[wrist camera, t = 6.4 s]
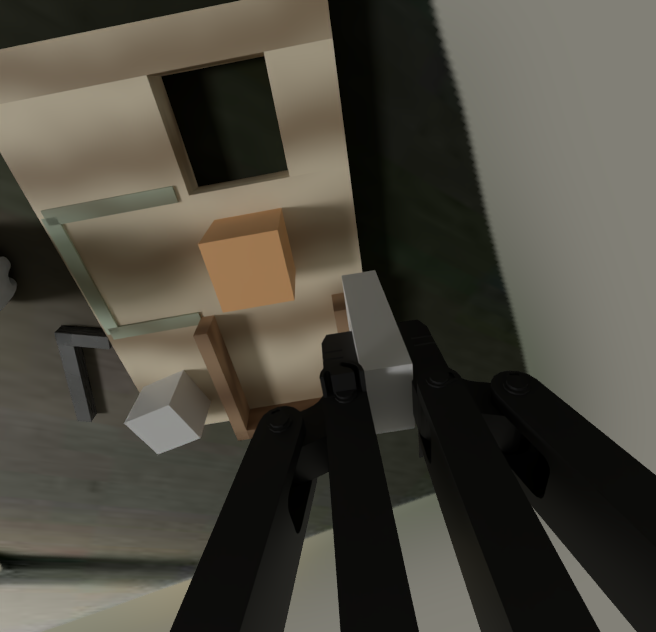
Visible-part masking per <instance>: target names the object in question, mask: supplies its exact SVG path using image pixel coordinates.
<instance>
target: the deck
mask: <svg viewBox="0 0 656 632" xmlns="http://www.w3.org/2000/svg"><path fill="white" fill-rule="evenodd" d="M262 56H265V61H266V66H267V71H268V75H269V80H270V85H271V90H272V94H273V99H274V104H275V109H276V114H277V118H278V123H279V128H280V133H281V137H282V142H283V147H284V152H285V157H286V161H287V166H288V170H286V171H281V172H275V173H270V174H265V175H259V176H254V177H249V178H243V179H238V180H232V181H227V182H222V183H216V184H211V185H206V186H200V187H198V184H197V181H196V178H195V176H194V173H193V170H192V167H191V164H190V161H189V158H188V155H187V152H186V149H185V146H184V143H183V140H182V137H181V134H180V131H179V128H178V125H177V122H176V119H175V116H174V113H173V110H172V107H171V104H170V101H169V98H168V95H167V92H166V89H165V86H164V84H163V81H162V78H161V76H166V75H171V74H176V73H181V72H186V71H191V70H196V69H201V68H207V67H212V66H217V65H222V64H227V63H232V62H237V61H242V60H247V59H252V58H257V57H262ZM0 153H1V154H2V156H3V158H4V160H5V161H6V163H7V165H8V167H9V168H10V170H11V172H12V173H13V175H14V177H15V179H16V180H17V182H18V184H19V185H20V187H21V189H22V191H23V192H24V194H25V196H26V198H27V199H28V201H29V203H30V204H31V206H32V208H33V210H34V211H35V213H36V215H37V217H38V218H39V220H40V222H41V223H42V225H43V227H44V229H45V230H46V232H47V234H48V235H49V237H50V239H51V241H52V242H53V244H54V246H55V248H56V249H57V251H58V253H59V254H60V256H61V258H62V260H63V261H64V263H65V265H66V266H67V268H68V270H69V272H70V273H71V275H72V277H73V279H74V280H75V282H76V284H77V285H78V287H79V289H80V291H81V292H82V294H83V296H84V297H85V299H86V301H87V303H88V304H89V306H90V308H91V310H92V311H93V313H94V315H95V316H96V318H97V320H98V322H99V323H100V325H101V327H102V329H103V330H104V332H105V334H106V335H107V337H108V339H109V341H110V342H111V344H112V346H113V347H114V349H115V351H116V353H117V354H118V356H119V358H120V360H121V361H122V363H123V365H124V366H125V368H126V370H127V372H128V373H129V375H130V377H131V378H132V380H133V382H134V384H135V385H136V387H137V389H138V391H139V392H141V390H142V389H143V387H144V386H147V385H149V384H151V383H154V382H156V381H159V380H161V379H163V378H166V377H168V376H170V375H173V374H175V373H177V372H180V371H182V370H184V371H185V372H186V373H187V375H188V376H189V377H190V378H191V379H192V380H193V381H194V383H195V384H196V385H197V386H198V387H199V388H200V390H201V391H202V392H203V393H204V394H205V395H206V396H207V398H208V399H209V400H210V401H211V404H210V407H209V410H208V414H207V417H206V421H205V424H204V425H206V424H212V423H218V422H224V421H230V420H229V418H228V416H227V413H226V411H225V409H224V406H223V404H222V402H221V400H220V397H219V395H218V393H217V390H216V388H215V386H214V383H213V381H212V379H211V376H210V374H209V372H208V369H207V367H206V365H205V363H204V360H203V358H202V356H201V353H200V351H199V349H198V346H197V344H196V342H195V339H194V337H193V335H194V333H195V330H196V328H197V326H198V324H199V321H200V319H201V317H206V316H212V315H214V316H215V319H216V321H217V324H218V327H219V329H220V332H221V334H222V337H223V340H224V342H225V345H226V347H227V350H228V353H229V355H230V358H231V361H232V363H233V366H234V368H235V371H236V374H237V376H238V379H239V381H240V384H241V387H242V389H243V392H244V395H245V397H246V400H247V402H248V405H249V408H250V409H253V408H259V407H265V406H271V405H277V404H283V403H289V402H295V401H301V400H307V399H313V398H320V397H322V396H323V392H322V388H321V383H320V378H319V377H320V372H321V371H322V369H323V358H322V344H321V343H322V342H323V340H324V338H325V336H326V335H328V334H335V333H338V332H337V326H336V321H335V315H334V309H333V302H332V295H333V294H338V293H344V290H343V283H342V275H348V274H355V273H361V272H362V265H361V258H360V250H359V242H358V234H357V226H356V218H355V211H354V203H353V195H352V187H351V179H350V171H349V164H348V156H347V148H346V140H345V132H344V124H343V117H342V109H341V101H340V93H339V85H338V77H337V70H336V62H335V54H334V46H333V38H332V31H331V23H330V15H329V7H328V0H241V1H236V2H231V3H226V4H221V5H216V6H212V7H207V8H202V9H197V10H192V11H187V12H182V13H177V14H172V15H167V16H162V17H157V18H153V19H148V20H143V21H138V22H133V23H128V24H123V25H118V26H113V27H108V28H103V29H99V30H94V31H89V32H84V33H79V34H74V35H69V36H64V37H59V38H54V39H49V40H45V41H40V42H35V43H30V44H25V45H20V46H15V47H10V48H5V49H0ZM277 208H282V212H283V217H284V221H285V225H286V230H287V234H288V238H289V243H290V247H291V252H292V256H293V260H294V265H295V269H296V276H295V300H294V301H288V302H282V303H276V304H271V305H265V306H259V307H253V308H247V309H242V310H236V311H230V312H224V313H223V311H222V309H221V306H220V303H219V301H218V298H217V295H216V292H215V290H214V287H213V284H212V281H211V279H210V276H209V273H208V270H207V268H206V265H205V262H204V260H203V257H202V254H201V251H200V249H199V246H198V243H199V242H200V240H201V239H202V237H203V236H204V234H205V233H206V231H207V230H208V229H209V227H210V226H211V224H212V223H213V221H214V220H217V219H222V218H228V217H233V216H239V215H244V214H250V213H255V212H261V211H266V210H272V209H277Z"/></svg>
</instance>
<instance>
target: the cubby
mask: <svg viewBox="0 0 656 632" xmlns="http://www.w3.org/2000/svg"><path fill="white" fill-rule="evenodd" d="M332 302H333V309H334V315H335V321H336V326H337V332H338V333H341V332H347V331H349V325H348V318H347V311H346V304H345V297H344V293H338V294H333V295H332ZM193 337H194V339H195V342H196V344H197V346H198V349H199V351H200V353H201V356H202V358H203V360H204V363H205V365H206V367H207V369H208V372H209V374H210V376H211V379H212V381H213V383H214V386H215V388H216V390H217V393H218V395H219V397H220V400H221V402H222V404H223V406H224V409H225V411H226V413H227V416H228V418H229V420H230V423H231V425H232V427H233V430H234V432H235V434H236V437H237V439H238V440H245V439H251V438H252V437H253V434H254V432H255V430H256V427H257V425H258V423H259V421H260V419H261V418H262V416H263V415H264V414H266V413H267V412H268V411H269V410H271V409H274V408H276V407H280V406H290V407H294V408H296V409H297V410H299V411H302V410H305V409H307V408H309V407H311V406H313V405H314V404H316V403H317V402H318V401H319V400H320V399H321V398H322V397H320V398H313V399H307V400H301V401H295V402H289V403H283V404H277V405H271V406H265V407H259V408H253V409H250V408H249V405H248V402H247V400H246V397H245V395H244V392H243V389H242V387H241V384H240V381H239V379H238V376H237V374H236V371H235V368H234V366H233V363H232V361H231V358H230V355H229V353H228V350H227V347H226V345H225V342H224V340H223V337H222V334H221V332H220V329H219V327H218V324H217V321H216V319H215V316H214V315H212V316H206V317H201V319H200V321H199V324H198V326H197V328H196V330H195V333H194V335H193Z"/></svg>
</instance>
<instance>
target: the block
mask: <svg viewBox="0 0 656 632" xmlns="http://www.w3.org/2000/svg"><path fill="white" fill-rule="evenodd" d="M210 404H211V401H210V400H209V399H208V398H207V396H206V395H205V394H204V393H203V392H202V391H201V390H200V388H199V387H198V386H197V385H196V384H195V383H194V381H193V380H192V379H191V378H190V377H189V376H188V375H187V373H186V372H185V371H184V370H182V371H180V372H177V373H175V374H173V375H170V376H168V377H166V378H163V379H161V380H159V381H156V382H154V383H151V384H149V385H147V386H144V387H143V389H142V390H141V392H140V394H139V396H138V398H137V400H136V402H135V404H134V405H133V407H132V409H131V411H130V413H129V415H128V417H127V419H126V420H125V422H124V424H125V425H127V426H128V427H129V428H130V429H131V430H132V431H133V432H134V433H135V434H136V435H137V436H139V437H140V438H141V439H142V440H143V441H144V442H145V443H146V444H147V445H148V446H149V447H151V448H152V449H153V450H154V451H155V452H156V453H157V454H160V453H163V452H165V451H168V450H171V449H173V448H176V447H178V446H181V445H184V444H186V443H189V442H192V441H194V440H197V439H199V438H201V434H202V431H203V428H204V424H205V421H206V417H207V414H208V410H209V407H210Z"/></svg>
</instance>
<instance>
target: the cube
mask: <svg viewBox="0 0 656 632" xmlns="http://www.w3.org/2000/svg"><path fill="white" fill-rule="evenodd" d="M198 246H199V249H200V251H201V254H202V257H203V260H204V262H205V265H206V268H207V270H208V273H209V276H210V279H211V281H212V284H213V287H214V290H215V292H216V295H217V298H218V301H219V303H220V306H221V309H222V311H223V313H224V312H230V311H236V310H242V309H247V308H253V307H259V306H265V305H271V304H276V303H282V302H288V301H294V300H295V276H296V269H295V265H294V260H293V256H292V252H291V247H290V243H289V238H288V234H287V230H286V225H285V221H284V217H283V212H282V208H277V209H272V210H266V211H261V212H255V213H250V214H244V215H239V216H233V217H228V218H222V219H217V220H214V221H213V223H212V224H211V226H210V227H209V229H208V230H207V231H206V233H205V234H204V236H203V237H202V239H201V240H200V242H199V243H198Z"/></svg>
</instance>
